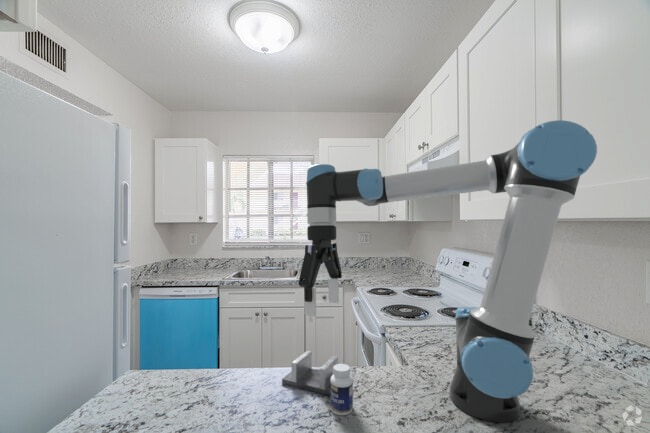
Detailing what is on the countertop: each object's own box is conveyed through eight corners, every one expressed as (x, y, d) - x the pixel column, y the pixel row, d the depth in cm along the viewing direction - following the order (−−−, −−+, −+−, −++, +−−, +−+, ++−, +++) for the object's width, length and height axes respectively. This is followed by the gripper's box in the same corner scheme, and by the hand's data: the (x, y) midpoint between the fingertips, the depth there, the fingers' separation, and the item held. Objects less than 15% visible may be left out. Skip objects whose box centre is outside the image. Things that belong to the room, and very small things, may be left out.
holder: (347, 381, 82) (347, 358, 82) (335, 398, 74) (335, 372, 74) (298, 370, 88) (298, 348, 89) (282, 384, 80) (282, 360, 81)
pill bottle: (327, 413, 68) (327, 370, 68) (334, 400, 73) (334, 360, 73) (349, 418, 66) (349, 374, 66) (355, 405, 71) (355, 364, 71)
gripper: (328, 226, 88) (329, 297, 87) (282, 224, 66) (283, 319, 64) (351, 225, 85) (353, 299, 84) (312, 223, 62) (313, 323, 61)
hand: (323, 308), depth 74 cm, fingers open, 13 cm apart
